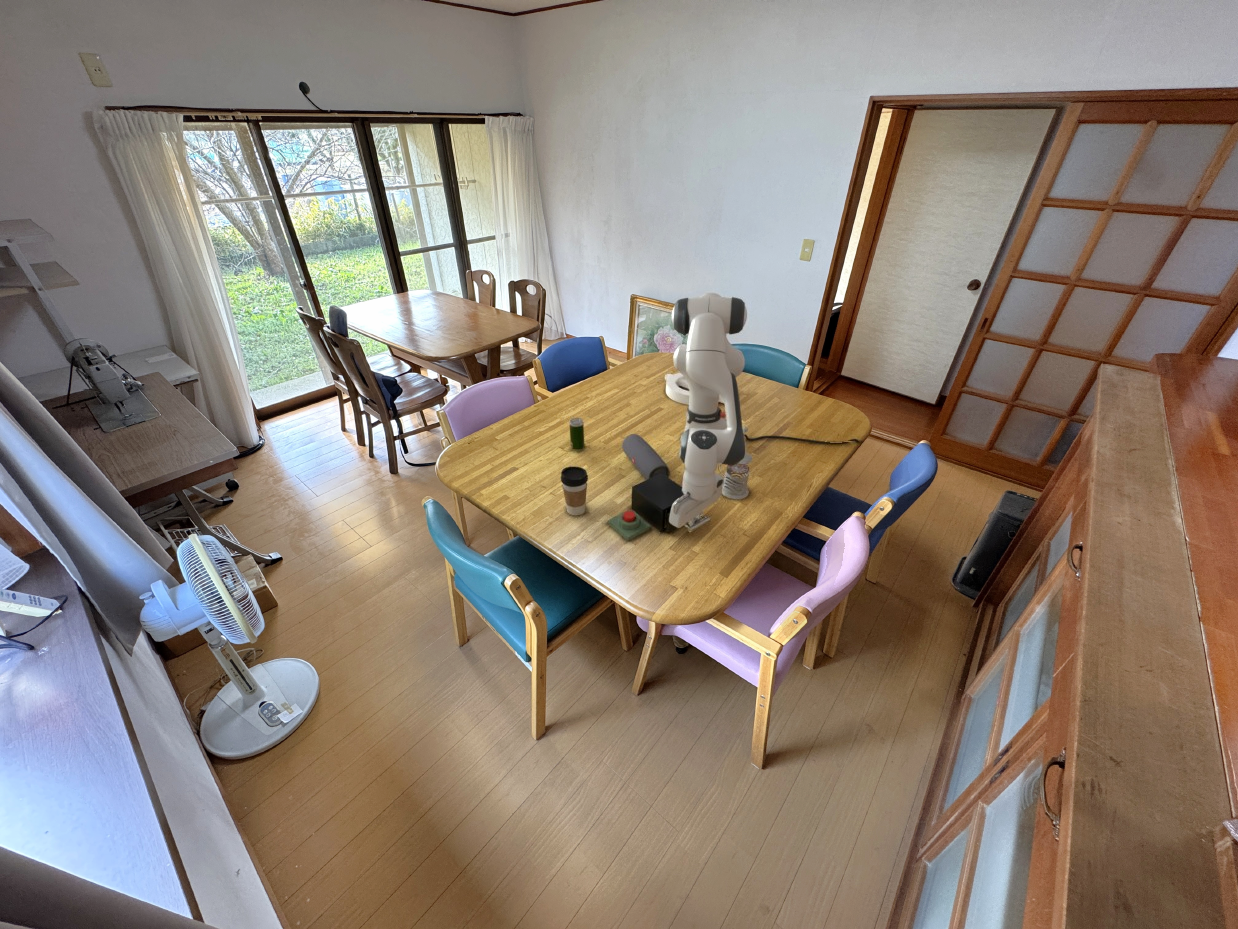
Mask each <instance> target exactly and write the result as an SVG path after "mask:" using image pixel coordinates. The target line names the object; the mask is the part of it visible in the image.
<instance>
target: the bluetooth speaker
mask: <svg viewBox="0 0 1238 929" xmlns="http://www.w3.org/2000/svg"><path fill="white" fill-rule="evenodd" d="M621 448H622V451H623V453H624V454H625V456H626V457H627V458H628V460H629V461H630V463H631V464H632V465H633V466H634V468H635V469H636V470H637V471H638V473H639V474H641V476H642V477H643V478H644V479H645V480H647V479H649V478H651V477H654V476H656V475H658V474H660V473H662V474H664V475H665V476H667V477H668V478H670V475H671V471H670V468H669V466H668V465H667V463H666V462H665V461H664V460H663V458H662V457H661V456H660V455H659V454H658V452H657V451H656V450H655V449H654V448H653V447H652V446H651V445H650V444H649V442H647V441H646V440H645V439H644V438H643V437H642V436H641V435H639V434H637V433H632V434H629V435H627V436H626V437H625V438H624V439H623V441H622V443H621Z"/></svg>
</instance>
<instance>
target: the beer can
mask: <svg viewBox="0 0 1238 929" xmlns="http://www.w3.org/2000/svg"><path fill="white" fill-rule="evenodd" d="M568 426H569V441H570V448H571V451H575V452H580V451H583V450H584V448H585V425H584V420H583V419H582V418H581V417H573V418H570V419H569V425H568Z"/></svg>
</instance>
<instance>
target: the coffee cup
mask: <svg viewBox="0 0 1238 929" xmlns="http://www.w3.org/2000/svg"><path fill="white" fill-rule="evenodd" d="M588 480H589V475H588V472H587V470H586V469H585V468H584V467H582V466H581V467H580V466H567V467H564V468H563V469H562V470H561V471H560V482H561V483H562V490H563V496H564V502H565V506H566V511H567V514H569V515H571V516H580V515H583V514H584V513H585V512H586V503H587V502H586V501H587V490H588Z"/></svg>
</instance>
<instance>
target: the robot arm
mask: <svg viewBox="0 0 1238 929" xmlns="http://www.w3.org/2000/svg"><path fill="white" fill-rule="evenodd" d="M747 309H748V308H747V307H746V302H745V301H744V300H743V299H741V298H739V297H736V296H735V297H734V296H732V297H725V296H721V295H720V294H718V293H716V292H705V293H704V294H702V295H701V296H699V297H691V298H689V297H684V298H679V299H678V300H676V302H675V303H674V306H673V307H672V311H671V315H670V316H671V323H672V327H673V329H674V330H675V331H676V332H677V333H678V334H681V335H682V336H683V337H686V336H687V340H686V343H685V344H679V346H677V348H676V349H675V350H674V352H673V357H672V362H673V366H674V368H675V369H676V370H677V371H678V373H681V374H682V375H683V376H684V377H685V379H686V381H687V383H688V386H689V389H688V391H689V405H687V407H686V408H687V409H686V415H685V418H686V423H685V427H684V429H683V433H682V434H681V435H680V441H679V442H680V447H679V452H678V457H679V459H680V460H681V462H683V464H684V467H685V468H684V471H683V474H682V475H683V476H682V485H681V486H682V491H683V493H684V495H683V496H682V497H680V498H678V499H677V500H676V501H675V502H674V503H673V505H672V508H671V512H670V517H669V522H670V523H671V524H672V525H673V526H675V527H677V528H679V529H681V528H682V527H684V526H683V525H685V524H686V523H687V522H688V524H686V525H688V526H691V525H693V524H695V523H696V522H698V521H700V519H701V517H700V516H701V515H703V512H705V510H706V509H708V508H709V507H711V506H712V505H713V504H715V503H717V501H719V499H720V498H721V497H722V493H721V492H722V486H723V483H724V476H723V475H721V474H719V473H716V471H717V469H718V463H719V464H720V463H721V465H726V466H728V465H732V466H733V465H735V464H737V463H738V462H740V461H741V460H742V459H743V458H744V456H745V452H747V443H746V441H749V442H752V441H753V442H754V441H759V440H762V439H783V440H792V441H799V442H806V443H814V444H823V445H824V444H825V445H845V444H849V443H850V442H844V441H841V442H842V443H830V442H831V441H827V442H825V441H824V440H815V439H807V438H799V437H794V436H793V437H792V436H786V435H785V436H784V435H761V436H758V437H753V438H750V437H749V436H748V434H746V433H744V432H743V421H742V420H743V419H742V410H741V403H740V402H741V401H740V393H739V387H738V381H737V377H739V376H740V375H741V374H742V373H743V371H744V369H745V366H746V358H745V356H744V354H743V352H742V351H741V350H739V349H737V347H735V346H734V345H733V344H732V343H731V342H730V341H729V339H728V337H727V335H737V334H739V333H741V331H742V330H744V327H745V325H746V323H747V319H748V310H747ZM719 395H720V396H721V397H722V398H723V400H724V403H725V404H724V403H723V404H724V410H725V411H723V410H722V409H721V407H719V402H718V401H719ZM847 441H852V442H856V443H858V444H859V443H860V441H859V439H857V438H851V439H847Z"/></svg>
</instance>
